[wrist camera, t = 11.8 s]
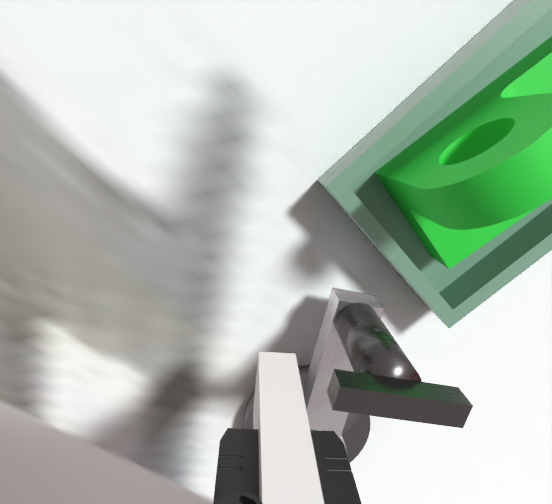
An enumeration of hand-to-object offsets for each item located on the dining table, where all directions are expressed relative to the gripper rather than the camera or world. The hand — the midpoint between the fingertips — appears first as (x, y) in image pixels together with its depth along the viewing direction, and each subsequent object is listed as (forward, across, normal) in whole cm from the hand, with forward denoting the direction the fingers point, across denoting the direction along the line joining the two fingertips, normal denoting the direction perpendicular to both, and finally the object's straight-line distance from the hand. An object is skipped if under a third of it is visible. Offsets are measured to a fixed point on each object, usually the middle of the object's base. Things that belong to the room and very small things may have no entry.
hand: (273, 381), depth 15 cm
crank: (+6, +4, -4) cm, 8 cm away
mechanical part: (+7, +11, +10) cm, 17 cm away
